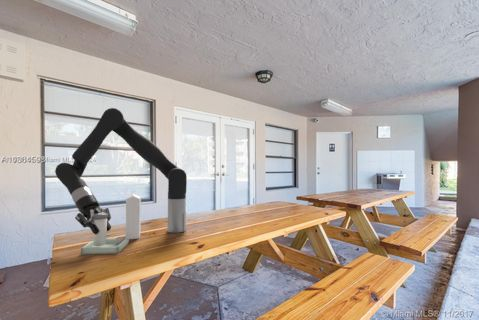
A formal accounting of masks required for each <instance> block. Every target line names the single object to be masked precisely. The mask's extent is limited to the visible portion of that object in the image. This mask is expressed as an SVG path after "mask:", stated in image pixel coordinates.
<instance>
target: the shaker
mask: <svg viewBox="0 0 479 320" xmlns="http://www.w3.org/2000/svg"><path fill="white" fill-rule="evenodd" d="M107 217H108V213H97V214H94V215H93V219H94V224H95V225H96V226H97V228H98V229H99V233H98V234H96V235H95V234H94V233H93V238H92V239H93V240H92V241H93V246H103V245H106V244H107V238H108V231H107Z"/></svg>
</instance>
